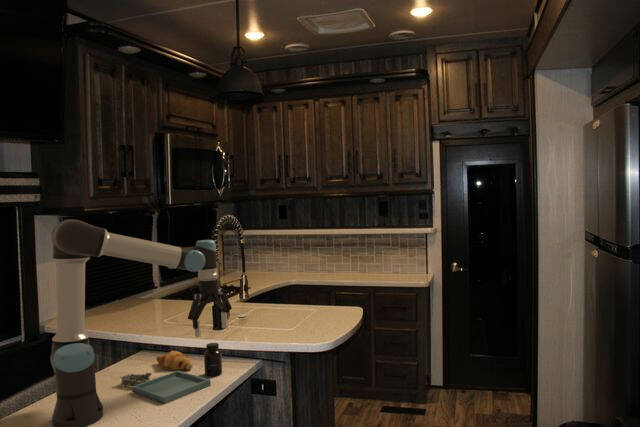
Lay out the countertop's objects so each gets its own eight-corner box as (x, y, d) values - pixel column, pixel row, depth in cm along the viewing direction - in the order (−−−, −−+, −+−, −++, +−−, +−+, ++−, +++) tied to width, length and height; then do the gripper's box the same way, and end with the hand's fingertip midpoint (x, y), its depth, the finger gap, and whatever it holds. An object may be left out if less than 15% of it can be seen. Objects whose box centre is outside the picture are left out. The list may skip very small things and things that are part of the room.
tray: (164, 404, 176) (164, 397, 176) (132, 392, 189) (131, 386, 189) (210, 385, 192) (210, 379, 192) (177, 376, 205) (177, 370, 204)
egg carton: (153, 383, 199) (153, 372, 198) (138, 390, 192) (137, 379, 192) (134, 379, 204) (133, 369, 204) (118, 386, 197) (117, 375, 197)
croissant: (197, 376, 213) (203, 357, 216) (181, 372, 205) (187, 352, 208) (162, 368, 224) (168, 350, 227) (145, 364, 217) (152, 345, 220)
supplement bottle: (211, 378, 200) (209, 347, 200) (201, 374, 205) (199, 345, 204) (226, 373, 205) (224, 343, 205) (215, 370, 210) (214, 340, 209)
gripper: (188, 285, 191) (192, 341, 192) (238, 274, 211) (241, 326, 212) (176, 284, 196) (179, 339, 197) (226, 273, 216) (229, 323, 216)
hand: (211, 332), depth 204 cm, fingers open, 13 cm apart
